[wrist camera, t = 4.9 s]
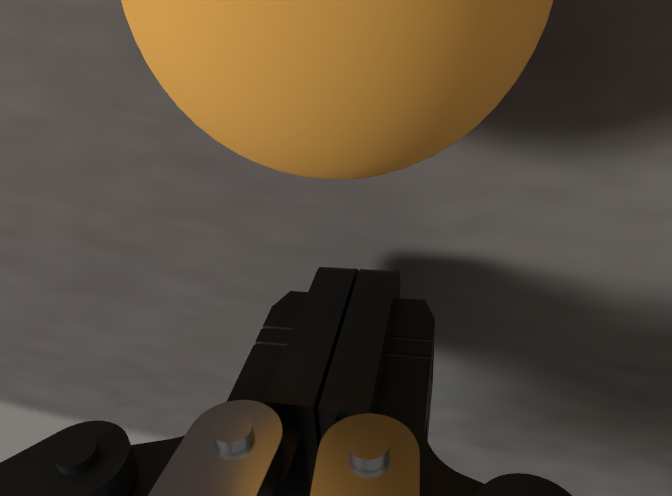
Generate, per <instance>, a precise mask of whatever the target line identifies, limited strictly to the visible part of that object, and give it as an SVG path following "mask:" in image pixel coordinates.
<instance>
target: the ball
mask: <svg viewBox="0 0 672 496" xmlns="http://www.w3.org/2000/svg"><path fill="white" fill-rule="evenodd" d="M121 1H122V5H123V8H124V12H125V16H126V18H127V21H128V23H129V26H130V28H131V31H132V33H133V36H134V39H135V41H136V43H137V45H138V47H139V49H140V51H141V53H142V55H143V57H144V59H145V60H146V62H147V64H148V66H149V68H150V69H151V71H152V72H153V74H154V75H155V77H156V78H157V80H158V81H159V83H160V84H161V86H162V87H163V89H164V90H165V91H166V92H167V94H168V95H169V96H170V97H171V98H172V100H173V101H174V102H175V103H176V105H177V106H178V107H179V108H180V109H181V110H182V111H183V112H184V113H185V114H186V115H187V116H188V117H189V118H190V119H191V120H192V121H193V122H194V123H195V124H196V125H197V126H199V127H200V128H201V129H202V130H204V131H205V132H206V133H207V134H209V135H210V136H211V137H212V138H214V139H215V140H216V141H218V142H219V143H221V144H223V145H224V146H226V147H227V148H229V149H231V150H232V151H234V152H235V153H237V154H239V155H241V156H243V157H245V158H247V159H249V160H252V161H254V162H256V163H258V164H261V165H263V166H266V167H269V168H272V169H275V170H278V171H281V172H286V173H290V174H295V175H300V176H304V177H309V178H320V179H331V180H336V179H359V178H365V177H371V176H378V175H382V174H386V173H389V172H393V171H396V170H399V169H403V168H406V167H408V166H411V165H413V164H415V163H417V162H420V161H422V160H424V159H427V158H429V157H431V156H433V155H435V154H437V153H439V152H440V151H442V150H444V149H445V148H447V147H449V146H450V145H452V144H454V143H455V142H457V141H458V140H459V139H461V138H462V137H463V136H464V135H466V134H467V133H468V132H470V131H471V130H472V129H474V128H475V127H476V126H477V125H478V124H479V123H480V122H481V121H482V120H483V119H484V118H485V117H486V116H487V115H488V114H489V113H490V112H491V111H492V110H493V109H494V108H495V107H496V106H497V105H498V104H499V103H500V101H501V100H502V99H503V97H504V96H505V95H506V94H507V92H508V91H509V90H510V88H511V87H512V86H513V85H514V83H515V82H516V81H517V79H518V77H519V76H520V74H521V72H522V71H523V69H524V68H525V66H526V64H527V63H528V61H529V59H530V58H531V56H532V54H533V52H534V50H535V48H536V46H537V44H538V41H539V39H540V37H541V35H542V32H543V30H544V28H545V26H546V23H547V20H548V17H549V13H550V10H551V7H552V4H553V0H121Z"/></svg>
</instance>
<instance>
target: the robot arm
mask: <svg viewBox="0 0 672 496" xmlns="http://www.w3.org/2000/svg"><path fill="white" fill-rule="evenodd" d="M434 330H435V318H434V316H433V314H432V312H431V311H430V309H429V307H428V305H427V303H426V301H425V300H414V299H400V275H399V272H398V271H382V270H365V269H360V270H358V269H346V268H330V267H319V268H318V270H317V272H316V275H315V277H314V280H313V282H312V285H311V287H310V289H309V292H297V291H290V292H289V293H288V294H286V295H285V296H284V297H283V298H282V299H281V300H279V301H278V302H277V303H276V304H275V305H273V306H272V308H271V310H270V312H269V314H268V316H267V318H266V320H265V323H264V325H263V329H261V331H260V333H259V335H258V337H257V339H256V344H255V345H254V346H253V348H252V350H251V352H250V354H249V356H248V358H247V360H246V362H245V364H244V367H243V369H242V371H241V373H240V375H239V377H238V379H237V381H236V383H235V385H234V387H233V390H232V392H231V394H230V396H229V398H228V400H227V402H225V403H221V404H219V405H217V406H214V407H212V408H211V409H209V410H207V411H206V412H204V413H203V414H202V415H200V416H199V417H198V418H197V419H196V420H195V421H194V423H193V424H192V426H191V427H190V429H189V430H188V432H187V433H186V435H185V436H181V437H178V438H173V439H168V440H162V441H155V442H149V443H143V444H136V445H130V442H129V439H128V436H127V434H126V432H125V431H124V430H123V429H122V428H121V427H119V426H118V425H116V424H113V423H111V422H106V421H88V422H83V423H79V424H76V425H73V426H70V427H68V428H66V429H63V430H61V431H59V432H57V433H56V434H54V435H52V436H50V437H48V438H46V439H44V440H42V441H41V442H39V443H37V444H35V445H33V446H31V447H29V448H28V449H26V450H24V451H22V452H20V453H18V454H16V455H14V456H12V457H11V458H9V459H7V460H5V461H3V462H1V463H0V496H572V495H571V494H569V493H568V492H567V491H566V490H565V489H563V488H562V487H560V486H559V485H557V484H555V483H553V482H551V481H549V480H547V479H544V478H542V477H539V476H535V475H530V474H520V473H516V474H507V475H502V476H499V477H496V478H494V479H492V480H490V481H489V482H487V483H486V484H483V483H481V482H478V481H476V480H474V479H471V478H469V477H467V476H464V475H462V474H460V473H458V472H456V471H454V470H453V469H451V468H450V467H448V466H447V465H445V464H444V463H443V462H442V461H441V460H440V459H439V458H438V457H437V456H436V455H435V454H434V452H433V451H432V449H431V447H430V446H429V444H428V429H429V418H430V406H431V395H432V384H433V359H434Z"/></svg>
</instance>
